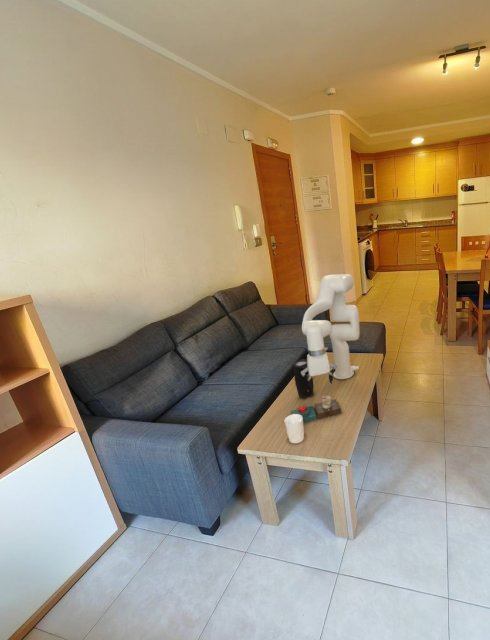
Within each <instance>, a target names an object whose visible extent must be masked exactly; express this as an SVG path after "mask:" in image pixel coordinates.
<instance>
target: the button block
mask: <svg viewBox="0 0 490 640" xmlns="http://www.w3.org/2000/svg"><path fill="white" fill-rule="evenodd" d="M305 406H306V405H305ZM292 414H300V415H301V416H302V417H303V424H304V423H308V422H312V421H315V420H317V413H316V410H315V407H314V406H313V405H310V406H306V411H305V412H303V413H301V412H299V407H297V408H296V409H293V410H290V415H292Z"/></svg>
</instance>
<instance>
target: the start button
mask: <svg viewBox="0 0 490 640" xmlns="http://www.w3.org/2000/svg"><path fill="white" fill-rule="evenodd" d="M298 408H299V412H301V413H303V412H305V411H306V405H299V407H298Z"/></svg>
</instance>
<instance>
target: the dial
mask: <svg viewBox="0 0 490 640" xmlns="http://www.w3.org/2000/svg"><path fill="white" fill-rule="evenodd" d="M331 400H332V398H331V396H330V395H323V396H322V397H321V402H322V406H323V408H330V407H331Z"/></svg>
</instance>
